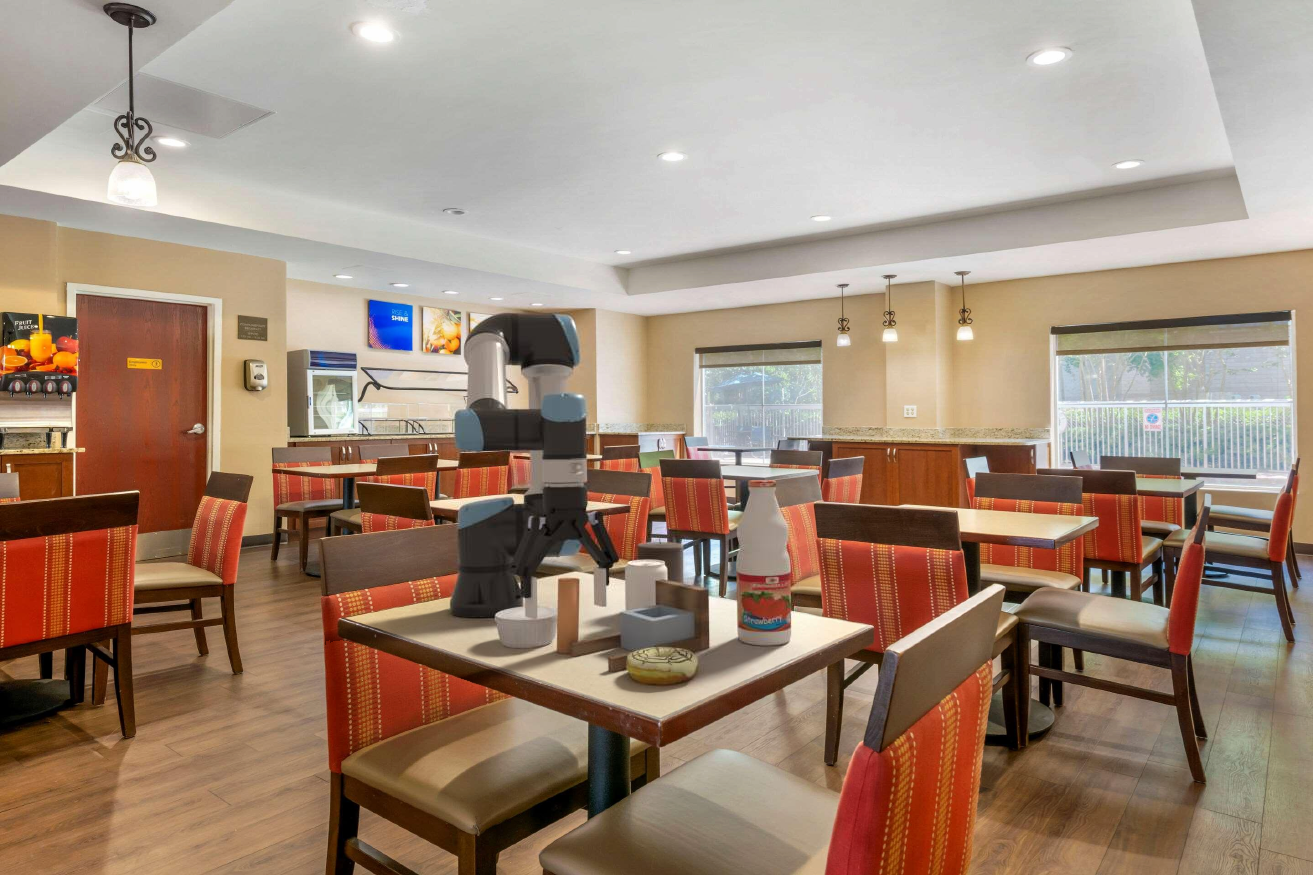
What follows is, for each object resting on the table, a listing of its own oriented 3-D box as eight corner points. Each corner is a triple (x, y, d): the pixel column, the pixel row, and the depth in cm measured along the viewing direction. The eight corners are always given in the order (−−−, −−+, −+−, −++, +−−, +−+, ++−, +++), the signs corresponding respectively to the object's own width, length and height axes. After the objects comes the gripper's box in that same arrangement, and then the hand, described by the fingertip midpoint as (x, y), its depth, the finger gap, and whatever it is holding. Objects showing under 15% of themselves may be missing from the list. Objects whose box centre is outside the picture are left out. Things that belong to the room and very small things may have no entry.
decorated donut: (706, 685, 110) (706, 659, 110) (633, 691, 107) (633, 664, 107) (688, 664, 120) (688, 640, 120) (621, 669, 118) (621, 645, 118)
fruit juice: (783, 631, 138) (781, 478, 139) (797, 645, 129) (795, 481, 129) (732, 633, 138) (730, 479, 138) (743, 647, 128) (741, 482, 128)
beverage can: (617, 627, 143) (617, 564, 143) (638, 618, 150) (637, 558, 150) (655, 632, 139) (654, 567, 139) (675, 622, 147) (674, 560, 147)
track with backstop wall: (569, 654, 125) (569, 594, 125) (663, 634, 138) (663, 579, 138) (612, 671, 116) (612, 606, 116) (709, 647, 128) (708, 588, 128)
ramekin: (491, 637, 138) (490, 608, 138) (551, 631, 142) (551, 603, 142) (500, 653, 127) (500, 622, 127) (565, 646, 131) (565, 616, 131)
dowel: (552, 649, 128) (554, 578, 128) (571, 646, 130) (572, 576, 131) (563, 654, 125) (564, 581, 125) (582, 651, 127) (583, 579, 128)
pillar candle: (647, 617, 151) (647, 542, 151) (630, 607, 160) (630, 536, 160) (691, 613, 155) (691, 539, 155) (672, 603, 164) (672, 534, 164)
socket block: (620, 646, 130) (620, 611, 130) (661, 637, 135) (660, 604, 136) (653, 658, 123) (652, 621, 123) (694, 647, 128) (694, 612, 128)
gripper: (509, 489, 117) (510, 626, 117) (637, 482, 133) (639, 604, 132) (487, 487, 123) (488, 618, 123) (612, 481, 139) (614, 597, 138)
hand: (566, 611), depth 128 cm, fingers open, 13 cm apart
